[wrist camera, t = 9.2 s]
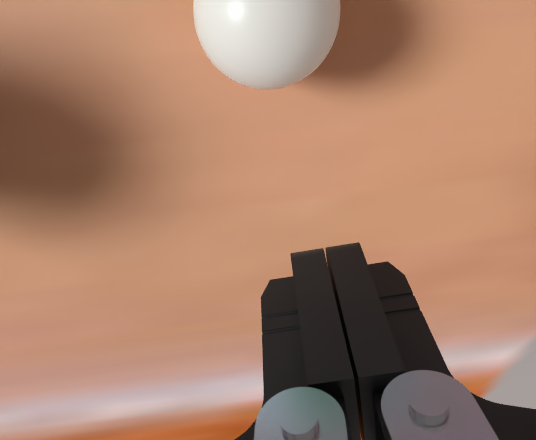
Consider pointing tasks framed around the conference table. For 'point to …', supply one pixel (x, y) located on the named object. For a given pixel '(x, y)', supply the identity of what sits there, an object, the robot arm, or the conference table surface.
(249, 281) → the conference table surface
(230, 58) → the white cue ball
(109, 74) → the conference table surface
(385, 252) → the conference table surface
